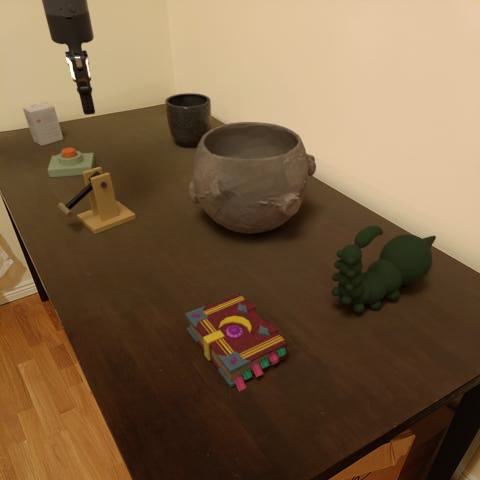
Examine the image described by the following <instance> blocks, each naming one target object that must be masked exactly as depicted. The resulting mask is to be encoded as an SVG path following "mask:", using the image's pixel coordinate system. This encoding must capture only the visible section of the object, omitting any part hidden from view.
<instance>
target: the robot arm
mask: <svg viewBox="0 0 480 480" xmlns="http://www.w3.org/2000/svg"><path fill="white" fill-rule="evenodd" d="M41 2H42V7H43V11H44V15H45V19H46V23H47V28H48V30H49V35H50V39H51V41H52V42H53V43H55V44H58V45H66V46H67V48H68V51H64V54H65V59H66V63H67V66H68V67H69V70H70V74H71V79H72V82H74V83H75V84H76V92H77V93H78V95H79V99H80V102H81V107H82V112H83V114H84V115H86V116H87V115H95V114H96V109H95V104H94V99H93V87H92V86H91V81H92V74H91V70H90V66H89V65H90V59H89V54H88V51H87V50H85V49H84V50H83V48H82V47H83V46H82V45H83V44H87V43H90V42H92V41H93V40H94V37H95V36H94V35H95V34H94V30H93V25H92V20H91V15H90V10H89V9H90V8H89V3H88V0H41Z"/></svg>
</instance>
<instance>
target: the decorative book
mask: <svg viewBox="0 0 480 480" xmlns="http://www.w3.org/2000/svg"><path fill="white" fill-rule="evenodd" d="M184 317H185V319H186V320H187V321H188V322H189V326H187V327H186V332H187V333H188V334H189V336H190V337H191V338H192V340H194V342H195V343H196V344H198V345H199V346H200V348H201V349H202V350H203V354H204V356H205V358H206V359H207V360H208V362H210V361H211V362H212V363H213V364H214V366H215V367H216V368H217V371H218V373H219V374H220V376H221V377H222V378H223V380H224V381H225V383H226V385H228V386H229V388H233V387H235V386H236V388H237V390H238V392H241V391H243V390H245V389H247V385H246V384H245V381H246V380H249V379H251V378H253V376H254V375H255V378H258V377H259V376H262V375H264V372H263V371H264V370H265V369H267V368H270V367H271V366H274V365H275V364H277V363H279V362H281V361H283V360H285V359H286V358H287V351H288V342H287V341H286V339H284V337H283V336H282V335H281V334H280V333H279V329H278V328H277V327H276V326H275V325H274V324H273V323H272V322H268V321H267V320H266V319H265V318H264V317H263V316H262V315H261V314H260V313H259V312H258V310H257V306H256V305H254V303H253V302H252V301H251V300H246V298H244V296H243V295H242V294H241V293H236V294H234V295H231V296H229V297H227V298H224V299H221V300H219V301H216V302H214V303H212V304H209V305H206V306H204V305H203V306H201V307H199V308H196V309H194V310H191V311H189V312H186V313H184Z"/></svg>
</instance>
